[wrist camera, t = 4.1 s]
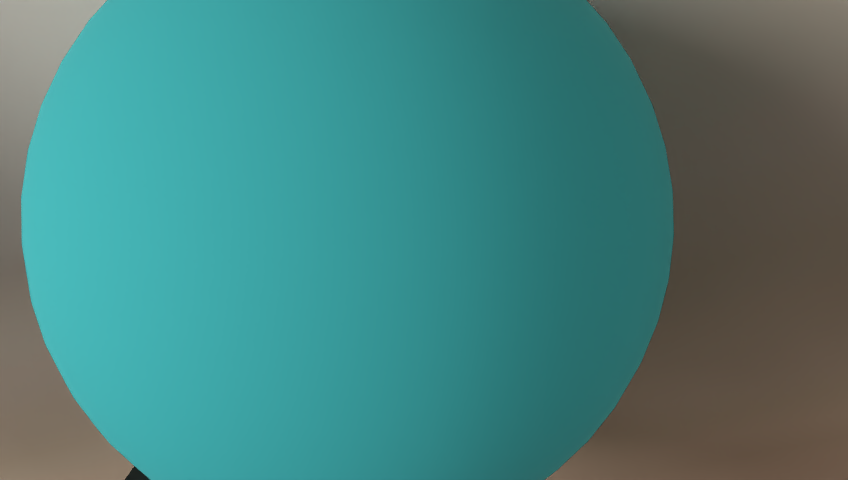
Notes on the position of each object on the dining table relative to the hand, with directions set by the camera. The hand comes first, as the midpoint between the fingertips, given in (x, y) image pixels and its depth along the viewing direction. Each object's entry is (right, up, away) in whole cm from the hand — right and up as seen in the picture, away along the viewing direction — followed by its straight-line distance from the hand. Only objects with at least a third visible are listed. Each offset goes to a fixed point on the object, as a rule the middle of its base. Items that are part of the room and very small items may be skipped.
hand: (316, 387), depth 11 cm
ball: (+1, +2, -4) cm, 5 cm away
